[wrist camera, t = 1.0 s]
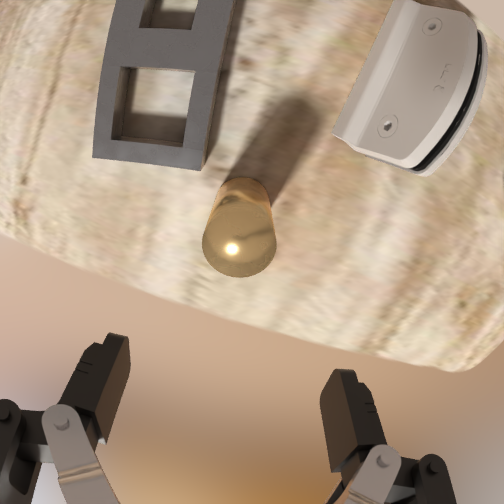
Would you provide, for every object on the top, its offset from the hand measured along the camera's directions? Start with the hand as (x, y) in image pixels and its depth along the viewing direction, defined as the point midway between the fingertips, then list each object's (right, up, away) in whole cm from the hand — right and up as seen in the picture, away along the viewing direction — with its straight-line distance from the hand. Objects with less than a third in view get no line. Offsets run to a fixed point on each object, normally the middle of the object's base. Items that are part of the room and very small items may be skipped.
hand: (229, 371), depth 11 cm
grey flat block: (-6, +22, +11) cm, 26 cm away
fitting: (0, +9, +18) cm, 20 cm away
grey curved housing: (+15, +20, +13) cm, 28 cm away
